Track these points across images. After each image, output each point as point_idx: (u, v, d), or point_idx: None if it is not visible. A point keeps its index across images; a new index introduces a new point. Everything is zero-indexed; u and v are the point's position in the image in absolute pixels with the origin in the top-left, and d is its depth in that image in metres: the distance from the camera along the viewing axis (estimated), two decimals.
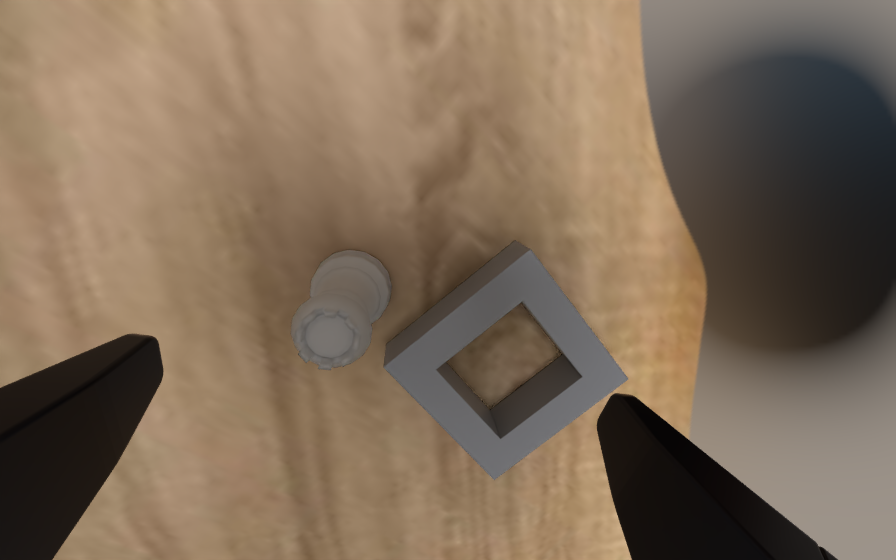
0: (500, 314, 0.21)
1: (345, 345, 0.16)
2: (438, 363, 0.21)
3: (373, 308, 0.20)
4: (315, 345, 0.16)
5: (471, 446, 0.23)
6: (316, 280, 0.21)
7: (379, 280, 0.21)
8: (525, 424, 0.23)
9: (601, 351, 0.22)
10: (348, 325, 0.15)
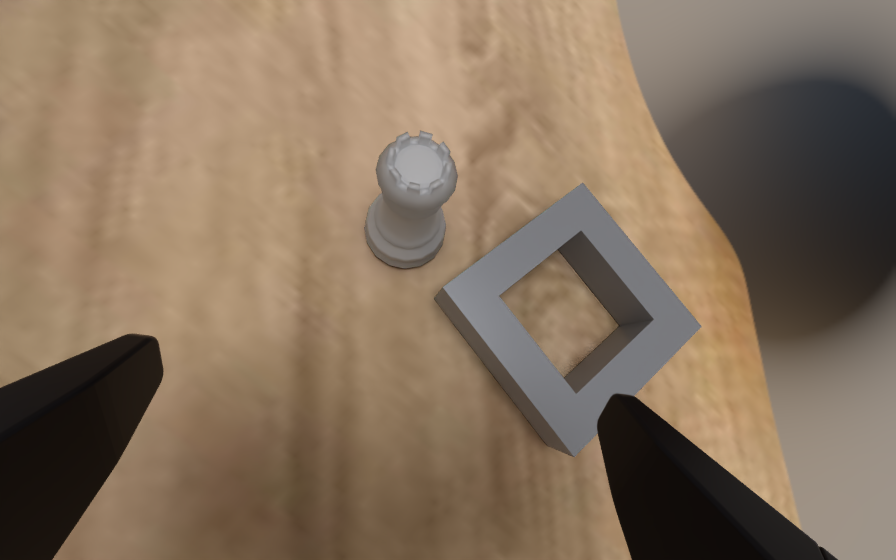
0: (561, 241, 0.21)
1: (434, 175, 0.15)
2: (501, 288, 0.20)
3: (436, 221, 0.20)
4: (404, 170, 0.15)
5: (542, 402, 0.19)
6: (377, 201, 0.21)
7: None
8: (602, 374, 0.19)
9: (667, 291, 0.21)
10: (442, 148, 0.15)
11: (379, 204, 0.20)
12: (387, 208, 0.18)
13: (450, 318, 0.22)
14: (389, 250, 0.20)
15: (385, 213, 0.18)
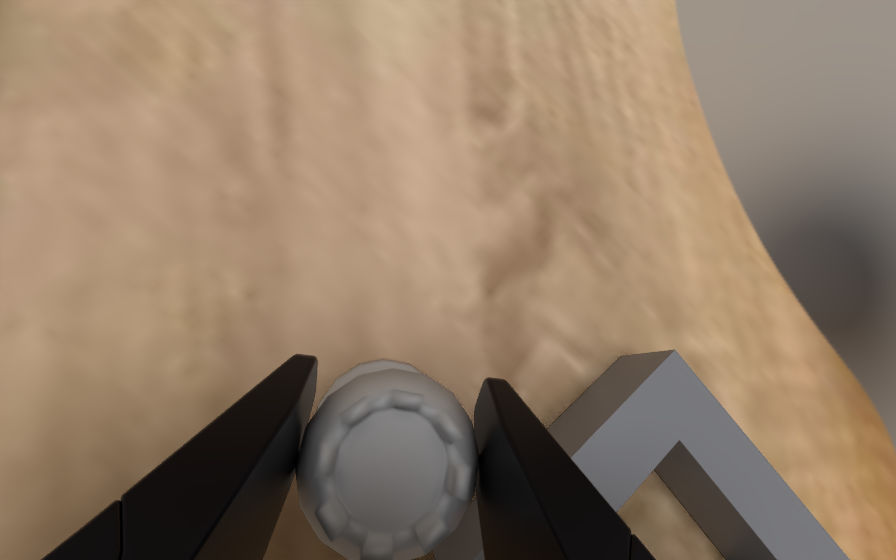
0: (649, 464, 0.12)
1: (429, 492, 0.07)
2: None
3: None
4: (356, 491, 0.06)
5: None
6: None
7: None
8: None
9: (826, 543, 0.12)
10: (447, 431, 0.06)
11: None
12: None
13: None
14: None
15: None
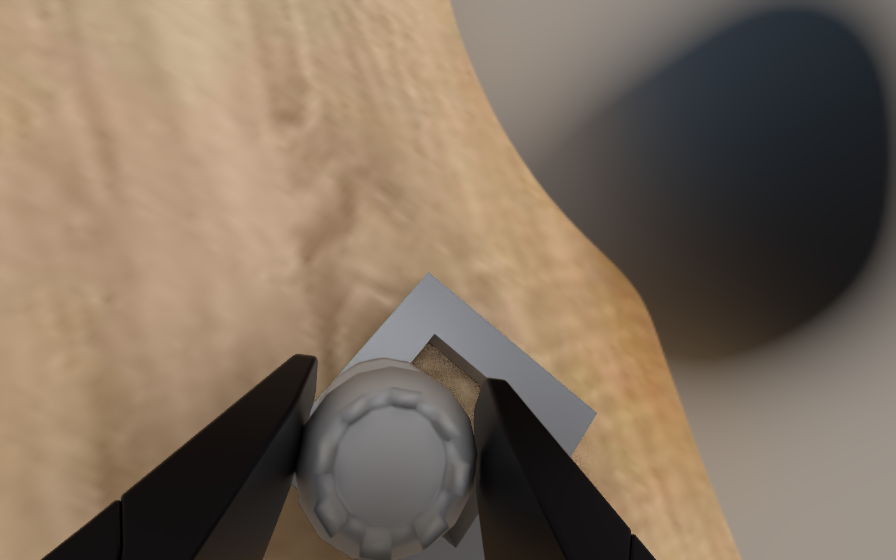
0: (411, 354, 0.17)
1: (427, 489, 0.07)
2: None
3: None
4: (355, 488, 0.06)
5: None
6: None
7: None
8: None
9: (550, 381, 0.18)
10: (444, 428, 0.07)
11: None
12: None
13: None
14: None
15: None
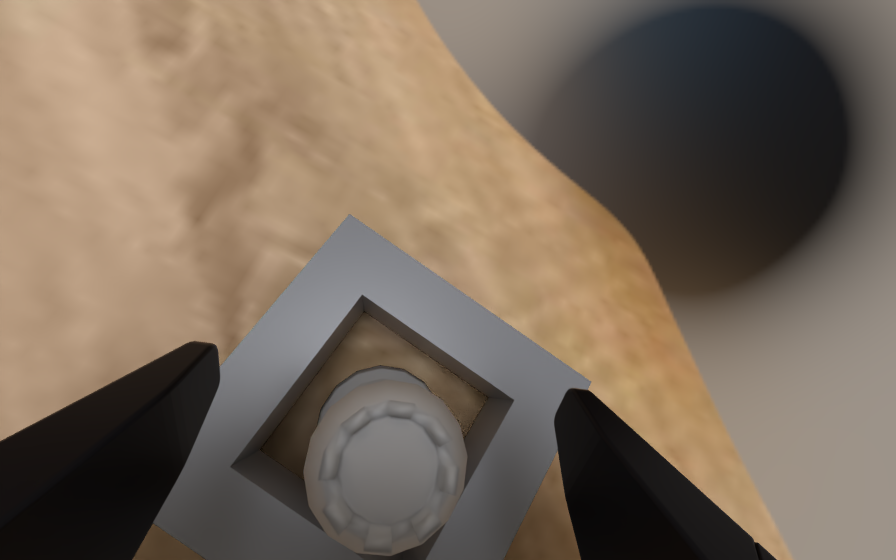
0: (330, 325, 0.12)
1: (422, 489, 0.07)
2: (233, 451, 0.11)
3: None
4: (359, 490, 0.07)
5: None
6: None
7: None
8: (449, 533, 0.11)
9: (525, 345, 0.13)
10: (436, 435, 0.07)
11: None
12: None
13: None
14: None
15: None
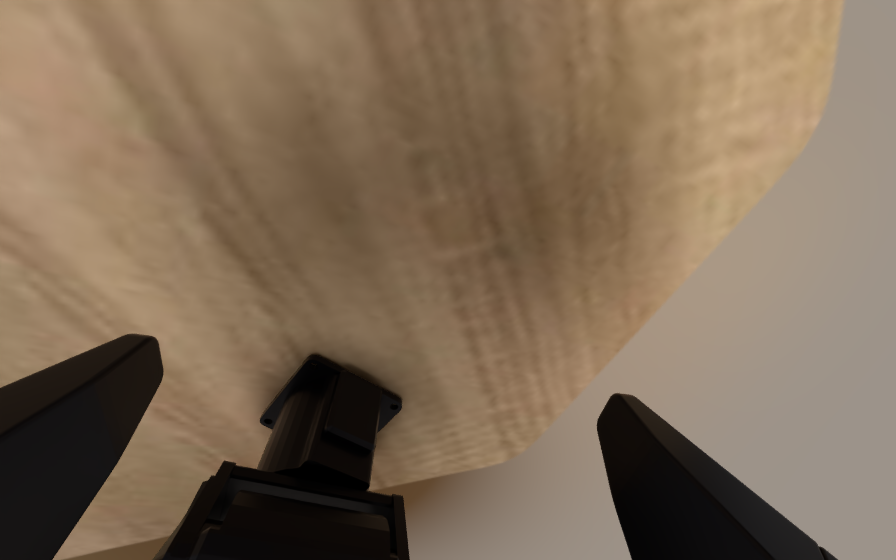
0: None
1: None
2: None
3: None
4: None
5: None
6: None
7: None
8: None
9: None
10: None
11: None
12: None
13: None
14: None
15: None
